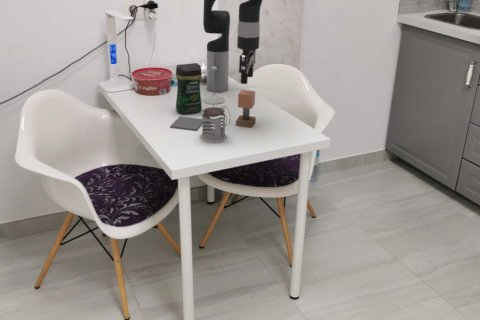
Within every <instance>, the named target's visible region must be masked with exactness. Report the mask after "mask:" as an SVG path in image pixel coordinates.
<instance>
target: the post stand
mask: <svg viewBox="0 0 480 320" xmlns="http://www.w3.org/2000/svg"><path fill="white" fill-rule="evenodd" d="M250 110H251V109H249V108H242V114H240V115H238V117H237V118H236V120H235V126H236V127H244V128H253V127H254V125H255V124H256V120H257V118H256V117H257V116H252V115H250V112H251V111H250Z"/></svg>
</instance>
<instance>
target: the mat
mask: <svg viewBox="0 0 480 320" xmlns="http://www.w3.org/2000/svg"><path fill="white" fill-rule="evenodd" d="M202 126H203V125H202V118H195V117H188V116H179V117H177V119H175V120H174V121H173V123H171V124H170V126H169V128H170V129H177V130H185V131H196V132H197V131H198V130H199V129H200V128H202Z"/></svg>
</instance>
